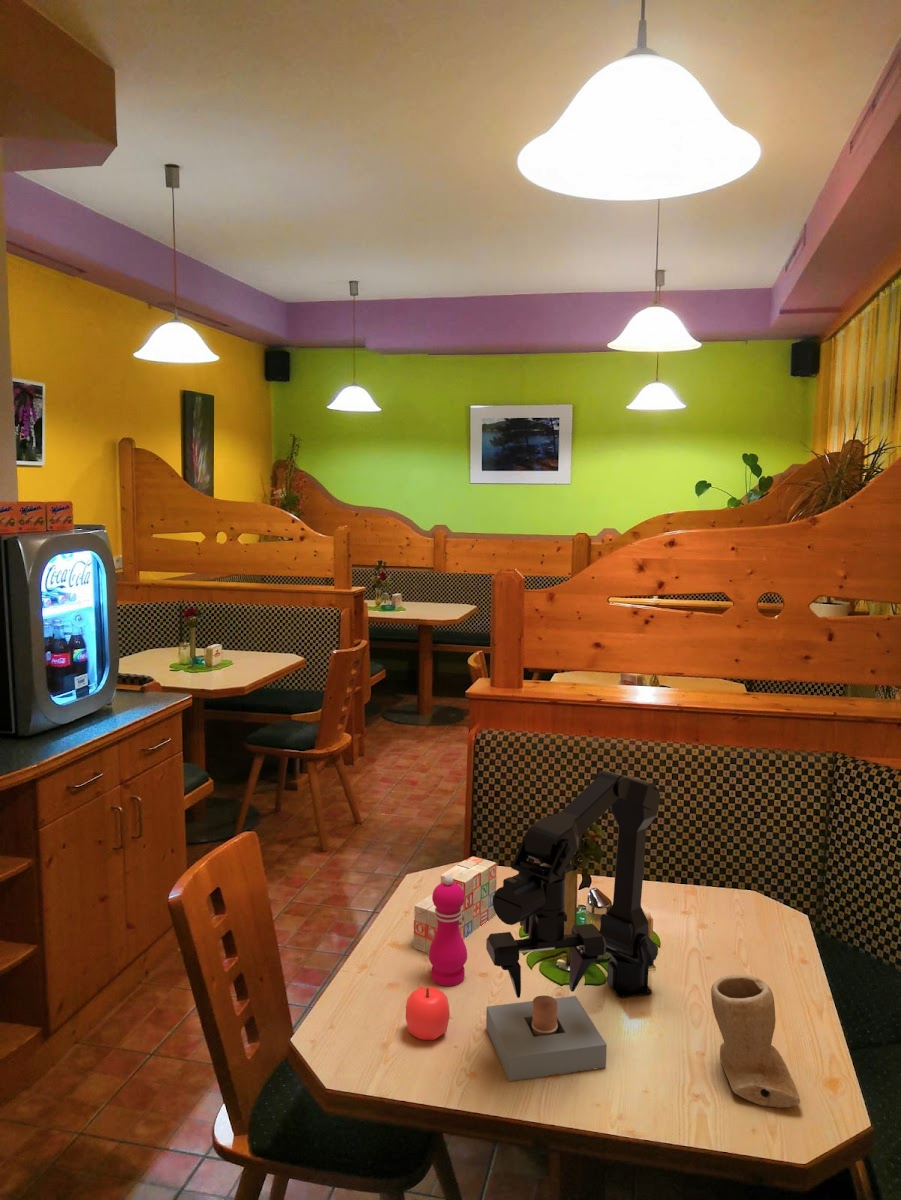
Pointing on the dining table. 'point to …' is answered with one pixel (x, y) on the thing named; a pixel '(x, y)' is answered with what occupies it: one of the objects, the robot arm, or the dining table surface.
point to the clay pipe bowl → (751, 1041)
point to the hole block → (544, 1040)
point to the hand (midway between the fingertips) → (544, 993)
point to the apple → (427, 1013)
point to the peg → (544, 1016)
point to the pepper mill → (448, 935)
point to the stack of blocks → (477, 906)
